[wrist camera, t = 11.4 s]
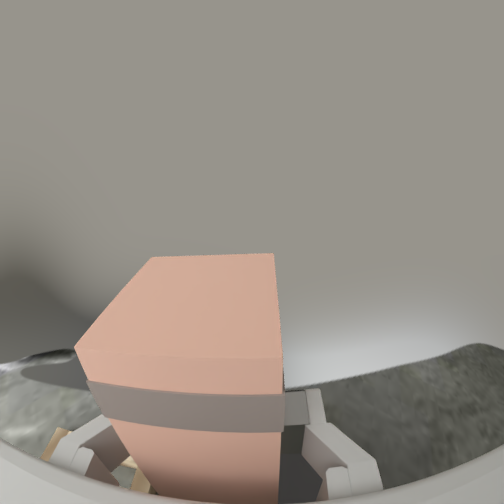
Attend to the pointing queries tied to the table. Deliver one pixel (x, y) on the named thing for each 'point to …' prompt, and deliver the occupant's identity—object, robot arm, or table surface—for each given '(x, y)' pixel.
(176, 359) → the block
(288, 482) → the mat
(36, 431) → the table surface
